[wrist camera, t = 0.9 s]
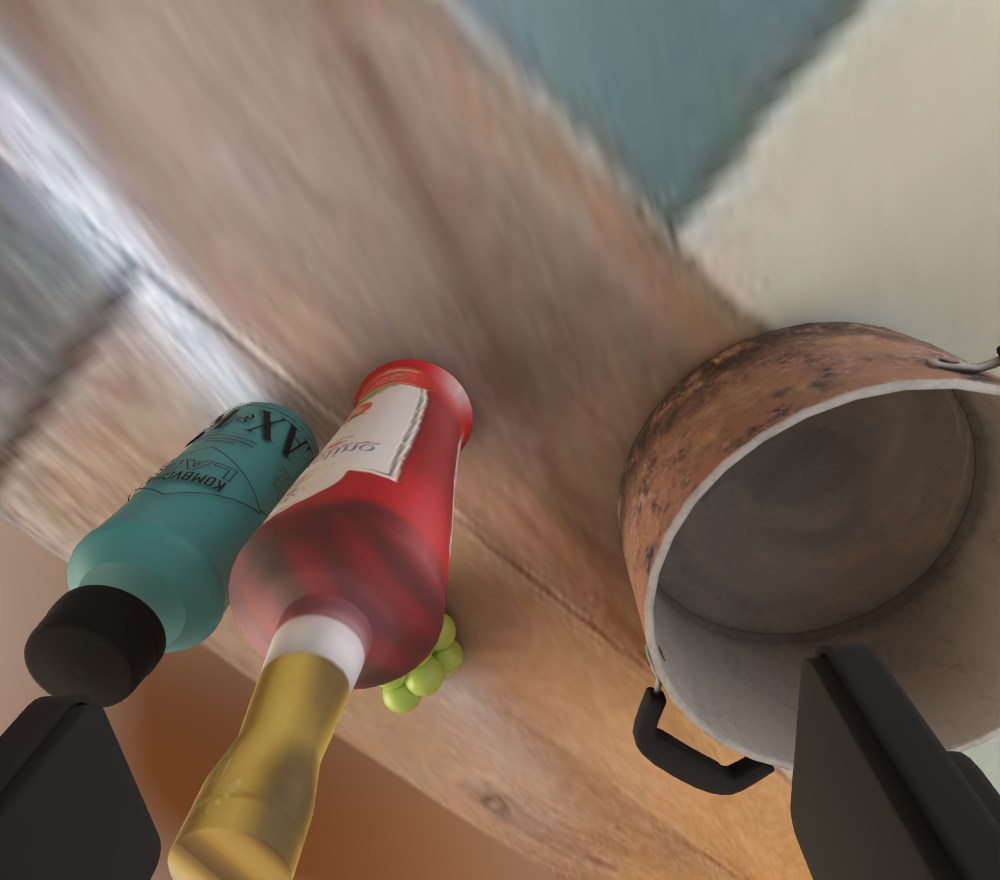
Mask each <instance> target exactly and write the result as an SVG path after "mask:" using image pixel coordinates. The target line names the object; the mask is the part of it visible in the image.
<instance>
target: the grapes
mask: <svg viewBox="0 0 1000 880" xmlns="http://www.w3.org/2000/svg"><path fill="white" fill-rule="evenodd" d="M455 635H456V627H455V624H454V621H453V620H452V618H451V617H450V616H449V615H447V614H446V613H444V623H443V628H442V631H441V634H440V636H439V639H438V642H437V644H436V645H435V647H434V648H433V650H432V651H431V653H430V654H429V656H428V657H427V658H426V659H425V660H424V661H423V662H422V663H421V664H420V665H419V666H418V667H417V668H415V669H414V670H412V671H411V672H409V673H408V674H406V675H404V676H403V677H401V678H399V679H397V680H394V681H392V682H389V683H387V684H384V685H380V686H379V687H381V688H383V692H382V695H383V700H384V703H385V705H386V706H387V707H388V708H389V709H390V710H391V711H393V712H395V713H400V714H403V713H408V712H410V711H412V710H413V709H414V708H415V707H416V706H417V705H418V704H419V702H420V700H421V697H422V696H429V695H431V694H433V693H435V692H436V691H437V690H438V689H439V688H440V686H441V684H442V682H443V678H444V676H449V675H452V674H453V673H455V672H456V671H457V670H458V669H459V668H460V666H461V664H462V661H463V651H462V648H461V646H460V644H459V643H458V642H457V641H456V640H455Z"/></svg>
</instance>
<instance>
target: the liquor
mask: <svg viewBox="0 0 1000 880" xmlns="http://www.w3.org/2000/svg"><path fill="white" fill-rule="evenodd" d="M472 421H473V417H472V408H471V404H470V401H469V398H468V396H467V394H466V392H465V391H464V389H463V387H462V386H461V385H460V383H459V382H458V381H457V380H456V379H455V378H454V377H453V376H452V375H451V374H449V373H448V372H447V371H446V370H444V369H442V368H440V367H438V366H436V365H434V364H431V363H428V362H425V361H420V360H411V359H410V360H398V361H394V362H391V363H387V364H385V365H383V366H381V367H379V368H377V369H376V370H375V371H374V372H372V373H371V374H370V375H369V376H368V377H367V378H366V379H365V380H364V382H363V383H362V384H361V386H360V388H359V390H358V392H357V394H356V398H355V402H354V410H353V412H352V413H351V414H350V416H349V417H348V419H347V420H346V421H345V422H344V424H343V425H342V426H341V428H340V429H339V430H338V431H337V433H336V434H335V435H334V437H333V438H332V439H331V440H330V442H329V443H328V444H327V445H326V446H325V448H324V449H323V450H322V451H321V452H320V453H319V454H318V456H317V457H316V458H315V459H314V460H313V461H312V462H311V464H310V465H309V466H308V467H307V468H306V469H305V470H304V472H303V473H302V474H301V475H300V476H299V478H298V479H297V480H296V481H295V483H294V484H293V485H292V486H291V488H290V489H289V490H288V491H287V493H286V494H285V495H284V497H283V498H282V499H281V500H280V502H279V503H278V504H277V506H276V507H275V508H274V510H273V511H272V512H271V513H270V515H269V516H268V517H267V519H266V520H265V521H264V522H263V524H262V525H261V526H260V527H259V529H258V530H257V531H256V532H255V533H254V535H253V536H252V537H251V538H250V540H249V541H248V542H247V543H246V545H245V546H244V547H243V548H242V550H241V551H240V552H239V554H238V556H237V558H236V560H235V563H234V565H233V567H232V570H231V575H230V581H229V600H230V606H231V609H232V612H233V616H234V619H235V621H236V623H237V625H238V627H239V629H240V631H241V633H242V634H243V636H244V638H245V639H246V640H247V641H248V642H249V644H250V645H251V646H252V647H253V649H254V650H255V651H256V652H257V653H258V654H260V655H261V656H262V657H263V658H264V659H265V662H264V665H263V667H262V670H261V673H260V676H259V679H258V681H257V684H256V687H255V690H254V693H253V696H252V698H251V701H250V704H249V707H248V710H247V713H246V715H245V719H244V721H243V724H242V727H241V729H240V732H239V735H238V738H237V739H236V740H235V742H234V743H233V744H232V746H231V747H230V748H229V749H228V751H227V752H226V753H225V755H224V756H223V757H222V759H221V760H220V761H219V763H218V764H217V765H216V766H215V768H214V769H213V770H212V772H211V773H210V774H209V776H208V777H207V778H206V780H205V782H204V784H203V786H202V788H201V790H200V792H199V794H198V796H197V798H196V800H195V802H194V804H193V806H192V808H191V810H190V812H189V814H188V816H187V818H186V820H185V822H184V824H183V826H182V828H181V830H180V832H179V834H178V836H177V838H176V840H175V842H174V844H173V846H172V848H171V850H170V852H169V855H168V868H169V871H170V873H171V876H172V878H173V879H174V880H292V879H293V876H294V873H295V869H296V866H297V863H298V860H299V857H300V853H301V850H302V847H303V844H304V840H305V838H306V834H307V831H308V828H309V825H310V821H311V818H312V815H313V810H314V803H315V796H316V789H317V781H318V774H319V767H320V762H321V760H322V758H323V755H324V753H325V751H326V749H327V746H328V744H329V742H330V740H331V737H332V735H333V733H334V730H335V728H336V726H337V724H338V721H339V719H340V717H341V715H342V712H343V710H344V708H345V706H346V703H347V701H348V699H349V697H350V694H351V692H352V690H353V689H365V688H370V687H375V686H380V685H384V684H387V683H389V682H392V681H394V680H397V679H399V678H401V677H403V676H404V675H406V674H408V673H409V672H411V671H412V670H414V669H415V668H417V667H418V666H419V665H420V664H421V663H422V662H423V661H424V660H425V659H426V658H427V657H428V656H429V654H430V653H431V651H432V650H433V648H434V647H435V645H436V644H437V642H438V639H439V636H440V634H441V631H442V628H443V623H444V612H445V601H446V590H447V581H448V572H449V563H450V554H451V546H452V535H453V519H454V501H455V486H456V478H457V469H458V460H459V454H460V451H461V450H462V449H463V448H464V446H465V444H466V443H467V441H468V439H469V436H470V433H471V430H472Z"/></svg>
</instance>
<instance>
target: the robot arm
mask: <svg viewBox="0 0 1000 880" xmlns="http://www.w3.org/2000/svg"><path fill="white" fill-rule="evenodd" d="M791 818H792V823H793V827H794V831H795V834H796V837H797V840H798V843H799V845H800V848H801V850H802V853H803V855H804V858H805V860H806V863H807V865H808V868H809V870H810V873H811V875H812V878H813V880H1000V795H999V793H998V792H997V791H996V789H995V788H994V787H993V785H992V784H991V783H990V781H989V780H988V779H987V777H986V776H985V775H984V773H983V772H982V771H981V770H980V768H979V767H978V766H977V765H976V764H975V763H974V762H973V761H972V760H971V758H969V757H967V756H966V755H964V754H963V753H961V752H958V751H946V749H945V748H944V747H943V745H942V744H941V742H940V741H939V740H938V738H937V737H936V735H935V734H934V732H933V731H932V730H931V728H930V727H929V725H928V724H927V723H926V721H925V720H924V718H923V717H922V716H921V714H920V713H919V711H918V710H917V709H916V707H915V706H914V704H913V703H912V702H911V700H910V699H909V697H908V696H907V695H906V693H905V692H904V690H903V689H902V688H901V686H900V685H899V683H898V682H897V681H896V679H895V678H894V676H893V675H892V674H891V672H890V671H889V669H888V668H887V667H886V665H885V664H884V662H883V661H882V659H881V658H880V657H879V655H878V654H877V652H876V651H875V650H874V649H873V648H872V646H871V645H870V644H868V643H866V642H859V643H844V644H829V645H820V646H818V647H817V648H816V650H815V655H814V658H804V659H803V661H802V665H801V676H800V689H799V702H798V715H797V728H796V741H795V754H794V767H793V780H792V792H791ZM160 844H161V843H160V838H159V835H158V833H157V831H156V828H155V826H154V824H153V821H152V819H151V817H150V814H149V812H148V810H147V807H146V805H145V803H144V800H143V798H142V796H141V794H140V791H139V789H138V787H137V784H136V782H135V780H134V778H133V775H132V773H131V771H130V768H129V766H128V764H127V761H126V759H125V757H124V755H123V752H122V750H121V748H120V745H119V743H118V741H117V738H116V736H115V734H114V732H113V729H112V727H111V725H110V722H109V720H108V718H107V716H106V713H105V711H104V710H103V708H102V707H101V706H99V705H97V704H95V703H94V701H93V700H92V698H91V697H89V696H87V695H86V694H74V695H59V696H45V697H40V698H38V699H35V700H34V701H33V702H32V703H31V704H29V705H28V706H27V707H26V708H25V710H24V711H23V712H22V713H21V714H20V715H19V716H18V717H17V719H16V720H15V721H14V722H13V723H12V724H11V725H10V726H9V727H8V728H7V730H6V731H5V732H4V733H3V734H2V735H1V736H0V880H150V879H151V877H152V875H153V873H154V871H155V869H156V867H157V864H158V861H159V857H160V850H161V845H160Z"/></svg>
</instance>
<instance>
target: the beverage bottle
mask: <svg viewBox="0 0 1000 880" xmlns="http://www.w3.org/2000/svg"><path fill="white" fill-rule="evenodd" d="M243 404H245V403H243ZM239 405H240V404H239ZM236 406H237V405H236ZM226 412H227V411H226ZM224 413H225V412H224ZM223 415H224V414H223ZM223 415H221V416H220V417H218V419H216V422H215V424H214V425H212V426H210V427H211V428H210V429H209V428H208V429H209V430H208V431H206V430H207V429H206V428H205V429H206V430H205V429H204V430H205V431H206V432H205V431H204V430H203V431H204V432H202V433H201V434H198V435H199V436H198V435H197V436H196V438H195V439H193V440H192V441H191V442H190V443H188V444H187V445H186V446H185V447H187V446H188V445H190V444H191V443H192V442H193V444H192V445H191V446H189V447H188V448H187V449H186V450H185V451H184V452H183V453H181V454H180V455H179V456H178V457H177V458H176V459H173V460H174V461H173V460H172V462H171V461H170V462H171V463H170V464H169V465H168V466H166V467H165V468H164V469H163V470H162V468H161V469H160V470H162V471H161V472H160V473H156V474H158V475H156V476H155V477H153V479H152V477H151V478H150V479H149V480H148V481H147V483H146V485H145V486H144V487H143V488H140V487H141V486H140V487H139V489H141V490H139V491H138V492H137V491H136V492H137V493H136V492H135V493H136V494H134V496H133V497H132V499H131V500H129V498H128V502H127V503H126V504H125V505H124V506H123V507H121V508H120V509H119V510H118V511H117V512H116V513H115V514H113V515H112V516H111V517H110V518H109V519H108V520H106V521H105V522H104V523H103V524H102V525H101V526H100V527H98V528H97V529H95V530H93V531H92V532H90V533H89V534H88V535H86V536H85V537H84V538H83V539H82V540H81V541H80V542H79V544H78V545H77V546H76V548H75V549H74V551H73V553H72V555H71V557H70V561H69V565H68V571H67V581H68V587H69V592H67V593H66V594H64V595H63V596H62V597H61V598H60V599H59V600H58V601H57V602H56V603H55V604H54V605H53V606H52V608H51V609H50V610H49V611H48V613H47V615H46V616H45V618H44V619H43V620H42V621H41V622H40V623H39V625H38V626H37V627H36V628H35V629H34V630H33V632H32V633H31V634H30V636H29V638H28V640H27V642H26V645H25V650H24V657H25V662H26V666H27V668H28V670H29V673H30V674H31V676H32V677H33V679H34V680H35V681H36V683H38V685H39V686H40V687H41V688H43V689H44V690H45V691H46V692H47V693H49V694H50V695H52V696H59V695H74V694H86V695H87V696H89V697H91V698H92V700H93V701H94V703H95V704H97V705H99V706H101V707H102V708H104V707H109V706H112V705H115V704H117V703H119V702H121V701H123V700H124V699H125V698H127V697H128V696H129V695H130V694H131V693H132V692H133V691H134V690H135V689H136V687H137V686H138V685H139V684H140V683H141V681H142V680H143V679H144V678H145V677H146V676H147V675H149V674H150V673H151V672H152V670H153V669H154V668H155V667H156V665H157V664H158V662H159V661H160V659H161V658H162V656H163V654H164V653H167V652H176V651H181V650H184V649H187V648H190V647H193V646H195V645H197V644H199V643H200V642H202V641H203V640H205V639H206V638H207V637H208V636H209V635H210V634H212V632H213V631H214V630H215V629H216V627H217V626H218V624H219V622H220V621H221V619H222V617H223V614H224V612H225V610H226V609H227V607H228V606H229V604H230V600H229V581H230V575H231V570H232V567H233V565H234V563H235V560H236V558H237V556H238V554H239V552H240V551H241V550H242V548H243V547H244V546H245V545H246V543H247V542H248V541H249V540H250V538H251V537H252V536H253V535H254V533H255V532H256V531H257V530H258V529H259V527H260V526H261V525H262V524H263V522H264V521H265V520H266V519H267V517H268V516H269V515H270V513H271V512H272V511H273V510H274V508H275V507H276V506H277V504H278V503H279V502H280V500H281V499H282V498H283V497H284V495H285V494H286V493H287V491H288V490H289V489H290V488H291V486H292V485H293V484H294V483H295V481H296V480H297V479H298V478H299V476H300V475H301V474H302V473H303V472H304V470H305V469H306V468H307V467H308V466H309V465H310V464H311V462H312V461H313V460H314V459H315V458H316V457H317V456H318V454H319V453H318V452H319V450H318V446H317V442H316V439H315V437H314V435H313V433H312V431H311V430H310V428H309V427H308V425H307V424H306V423H305V422H304V421H303V420H302V419H301V418H300V417H299V416H298V415H296V414H295V413H293V412H292V411H290V410H288V409H286V408H284V407H282V406H279V405H276V404H271V403H263V402H261V403H259V402H250V404H245V405H242V406H238V407H237V408H236V407H235V409H234V408H233V410H231V411H230V412H228V413H227V414H226V415H225V416H224V417H223ZM214 421H215V420H214ZM212 424H213V423H212ZM195 440H196V441H195ZM162 467H163V466H162ZM158 472H159V471H158ZM136 490H138V489H136ZM134 491H135V490H134ZM129 497H130V495H129Z"/></svg>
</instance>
